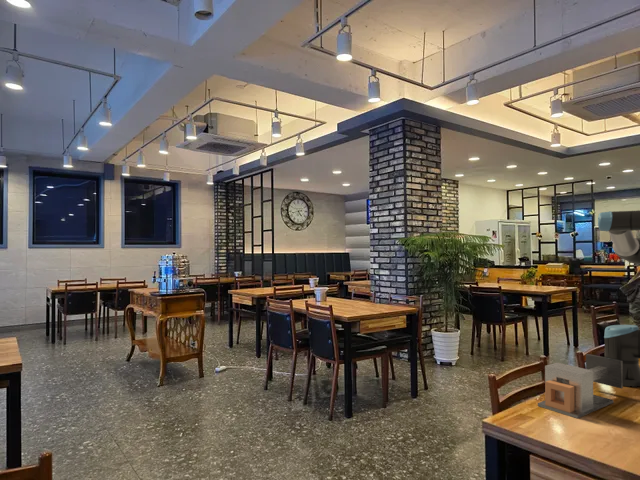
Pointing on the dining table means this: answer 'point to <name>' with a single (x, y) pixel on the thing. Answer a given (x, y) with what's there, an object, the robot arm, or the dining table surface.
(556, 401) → the block
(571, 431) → the dining table surface
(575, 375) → the block
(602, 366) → the grey crossbar bracket
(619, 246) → the robot arm
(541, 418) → the dining table surface
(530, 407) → the dining table surface
